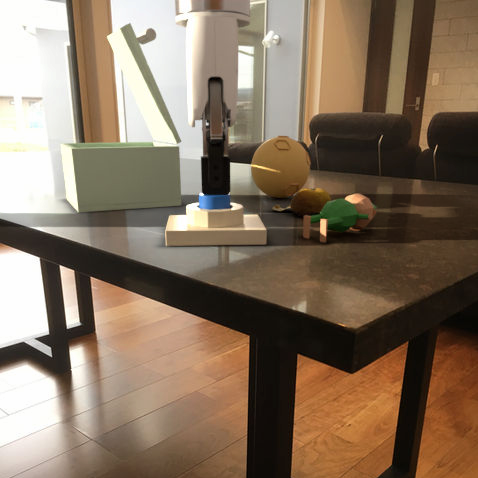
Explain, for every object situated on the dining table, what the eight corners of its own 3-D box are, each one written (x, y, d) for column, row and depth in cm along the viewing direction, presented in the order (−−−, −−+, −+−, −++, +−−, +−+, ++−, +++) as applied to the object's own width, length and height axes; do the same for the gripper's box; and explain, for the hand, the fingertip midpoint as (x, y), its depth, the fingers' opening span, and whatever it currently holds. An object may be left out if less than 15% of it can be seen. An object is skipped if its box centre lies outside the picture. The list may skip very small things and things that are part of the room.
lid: (125, 25, 69) (156, 11, 70) (106, 36, 80) (134, 24, 81) (177, 144, 77) (204, 130, 78) (153, 139, 88) (178, 127, 89)
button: (199, 212, 58) (198, 196, 57) (199, 207, 61) (198, 191, 61) (231, 212, 58) (231, 196, 57) (229, 206, 61) (229, 191, 61)
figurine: (292, 236, 62) (354, 222, 69) (338, 246, 57) (400, 229, 64) (292, 198, 60) (356, 187, 67) (340, 204, 55) (403, 192, 62)
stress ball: (259, 203, 83) (260, 137, 79) (244, 194, 92) (245, 134, 88) (317, 201, 85) (321, 136, 81) (297, 192, 94) (300, 134, 90)
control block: (165, 246, 56) (164, 213, 55) (169, 228, 65) (168, 200, 63) (266, 244, 57) (267, 212, 56) (257, 227, 65) (258, 199, 64)
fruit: (318, 206, 80) (319, 182, 79) (347, 216, 73) (349, 189, 71) (269, 210, 77) (269, 184, 76) (294, 220, 70) (296, 192, 69)
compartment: (78, 212, 75) (71, 148, 71) (66, 199, 85) (60, 143, 82) (181, 205, 81) (179, 146, 77) (158, 194, 91) (156, 141, 88)
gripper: (177, 19, 59) (184, 185, 66) (171, -9, 45) (181, 204, 52) (243, 20, 59) (243, 184, 66) (257, -8, 45) (255, 203, 52)
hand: (215, 193), depth 59 cm, fingers closed
